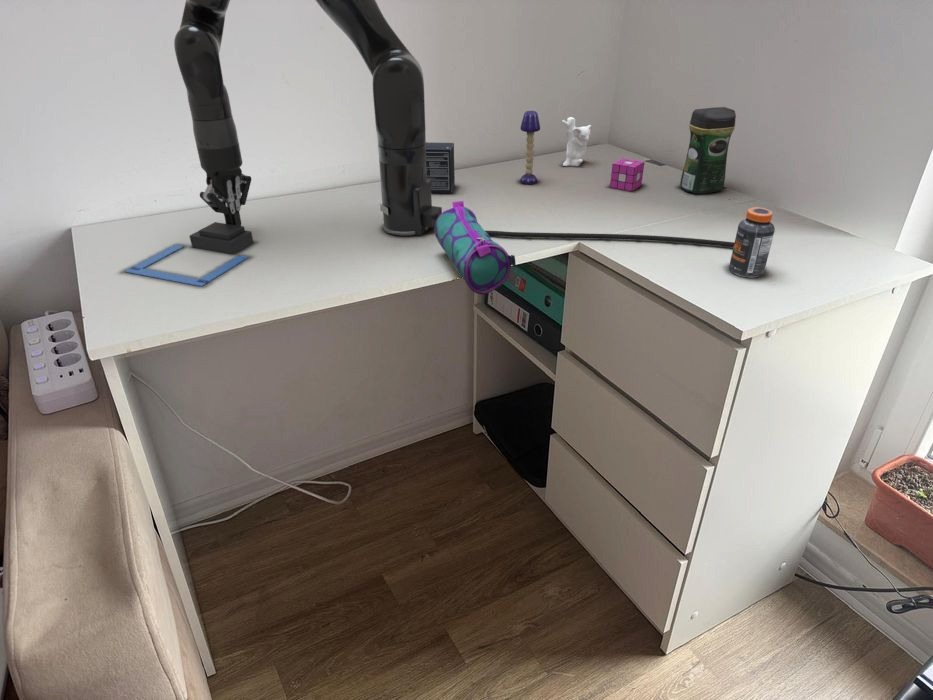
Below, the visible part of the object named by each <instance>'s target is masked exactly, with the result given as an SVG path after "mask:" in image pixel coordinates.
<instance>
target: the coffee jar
mask: <svg viewBox="0 0 933 700" xmlns="http://www.w3.org/2000/svg"><path fill="white" fill-rule="evenodd" d="M736 118H737V115H736V111H735V109H732V108H730V107H726V106H717V107H716V106H715V107H706V108H704V107H703V108H696V109H694V110H693V111H692V113H691V118H690V122H689V132H690V137H689V144H688V148H687V154H686V158H685V162H684V165H683V170H682V173H681V177H680V182H679V186H680V187H681V189H682V190H684V191H685V192H687V193H693V194H710V193H715V192H720V191H722V190H723V189H724V188H725V181H726V180H725V179H726V171H727V170H726V169H727V159H728V152H729V144H730V141H731V137H732V135H733V132H734V131H735V127H736Z"/></svg>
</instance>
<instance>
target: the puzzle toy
mask: <svg viewBox="0 0 933 700" xmlns="http://www.w3.org/2000/svg"><path fill="white" fill-rule="evenodd" d="M644 169H645V161H641V160H634V159H629V158H624V157H623V158H622V157H621V159H618V160H617V161H615V162H613V163H612V164H611V173H610V182H609V188H612V189H618V190H622V191H627V192H633V191H635V190H637V189H638V188H640V187H641V186H642V185H643V176H644Z"/></svg>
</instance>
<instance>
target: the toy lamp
mask: <svg viewBox="0 0 933 700" xmlns="http://www.w3.org/2000/svg"><path fill="white" fill-rule="evenodd" d="M540 130H541V124H540V119H539V113H538V112H537V111H536V110H527V111H524V113H523V117H522V120H521V123H520V131H521V132H525V133H526V151H525V155H526V157H525V170H524V171H525V173H524V174H523V175H521V177H520V180H519V182H520V183H521V184H523V185H535V184H537V183H538V178H537V176H536V175H535V174H533V172H534V171H533V167H534V163H533V162H534V153H535V152H534V148H535V144H534V142H535V137H534V136H535V133H537V132H539V131H540Z"/></svg>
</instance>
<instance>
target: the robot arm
mask: <svg viewBox="0 0 933 700" xmlns="http://www.w3.org/2000/svg"><path fill="white" fill-rule="evenodd" d="M314 1H315V2H316V3H317V5H318V6H319V7H320V9H322V11H323V12H324V13H325V14H326V15H327V16H328V17H329V18H330V20H331V21H332V22H333V23H334V24H335V25H336V26H337V27H338V28H339V29H340V30H341V31H342V32H343V34H345V36H346V37H347V38H348V39H349V40H350V41H351V43H352V44H353V46H354V47H355V49H356V50H357V51H358V53H359V55H360V56H361V58H362V60H363V62H364V63H365V65H366V67H367V69H368V71H369V72H370V75H371V76H372V99H373V109H374V110H373V111H374V121H375V122H374V123H375V132H376V138H377V151H378V164H379V177H380V180H379V181H380V191H381V194H380V195H381V203H379V207H380V209H379V210H380V211H381V212H382V221H383V223H382V225H383V230H384V231H385V232H386V233H387V234H390V235H394V236H402V237H404V236H406V237H407V236H408V237H409V236H422V235H423V234H424V233H426V232H427V231H428V230H429V229H431V228H435V223H436V220H437V219H438V217H439V216H440V214H442V213H443V207H442V206H435V205H433V204H432V202H433V200H432V193H431V181H430V180H427V168H426V142H427V140H426V139H427V136H426V129H427V128H426V105H425V81H424V72H423V69H422V67H421V65H420V63H419V61H418V60H417V59H416V58H415V56H414V55H413V54H412V53H411V51H410V50H409V49H408V48H407V46H406V45H405V44H404V43H403V42H402V40H401V39H400V38H399V36H398V35H397V34H396V32H395V31H394V30H393V28H392V27H391V25H390V24H389V23H388V21H387V19H386V18H385V15H384V14H383V13H382V11H381V8H380V7H379V5H378V3H377V0H314ZM230 2H231V0H185V3H184V7H183V12H182V16H181V22H180V25H179V29H178V31H177V32H176V34H175V36H174V40H173V42H174V43H173V47H174V53H175V57H176V61H177V65H178V69H179V71H180V75H181V77H182V80H183V81H182V82H183V83H184V86H185V88H186V95H187V103H188V106H189V111H190V115H191V120H192V130H193V137H194V141H195V145H196V149H197V150H196V151H197V154H198V159H199V165H200V167H201V169H202V170H203V171H204V172H205V174H206V179H205V182H206V185H207V187H206V188H205V191H200V192H199V197H200V199H201V200H202V201H203V202H204V203H206V204H207V205H208V206H209V207H210V209H212V210H213V212H215V213H219V214H223V217H224V222H225V224H231V225H237V226H242V219H241V214H240V211H241V209H242V206H245V205H246V203H247V199H248V195H249V191H250V187H251V183H252V177H251V176H250V175H246V174H244V173H243V171H242V170H243V169H242V168H241V167H242V166H243V158H242V153H241V147H240V142H239V136H238V131H237V127H236V123H235V120H234V117H233V112H232V107H231V102H230V96H229V93H228V89H227V87H226V85H225V83H224V77H223V72H222V65H221V59H220V51H221V47H222V40H223V35H224V28H225V20H226V13H227V11H228V8H229V6H230ZM485 232H486V233H487V234H488V235H489V236H490V237H491V236H493V237H494V236H495V237H508V238H511V237H512V238H540V239H541V238H542V239H543V238H544V239H589V240H590V239H592V240H593V239H594V240H595V239H596V240H597V239H598V240H628V241H629V240H630V241H631V240H632V241H651V242H652V241H653V242H669V243H681V244H682V243H683V244H695V245H706V246H716V247H726V248H733V247H734V243H735V241H725V240H716V239H715V240H714V239H704V238H694V237H681V236H680V237H679V236H668V235H667V236H665V235H650V234H649V235H648V234H647V235H646V234H625V233H623V234H622V233H587V232H586V233H585V232H584V233H581V232H577V233H575V232H534V231H533V232H531V231H530V232H527V231H526V232H525V231H524V232H523V231H503V230H485Z"/></svg>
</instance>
